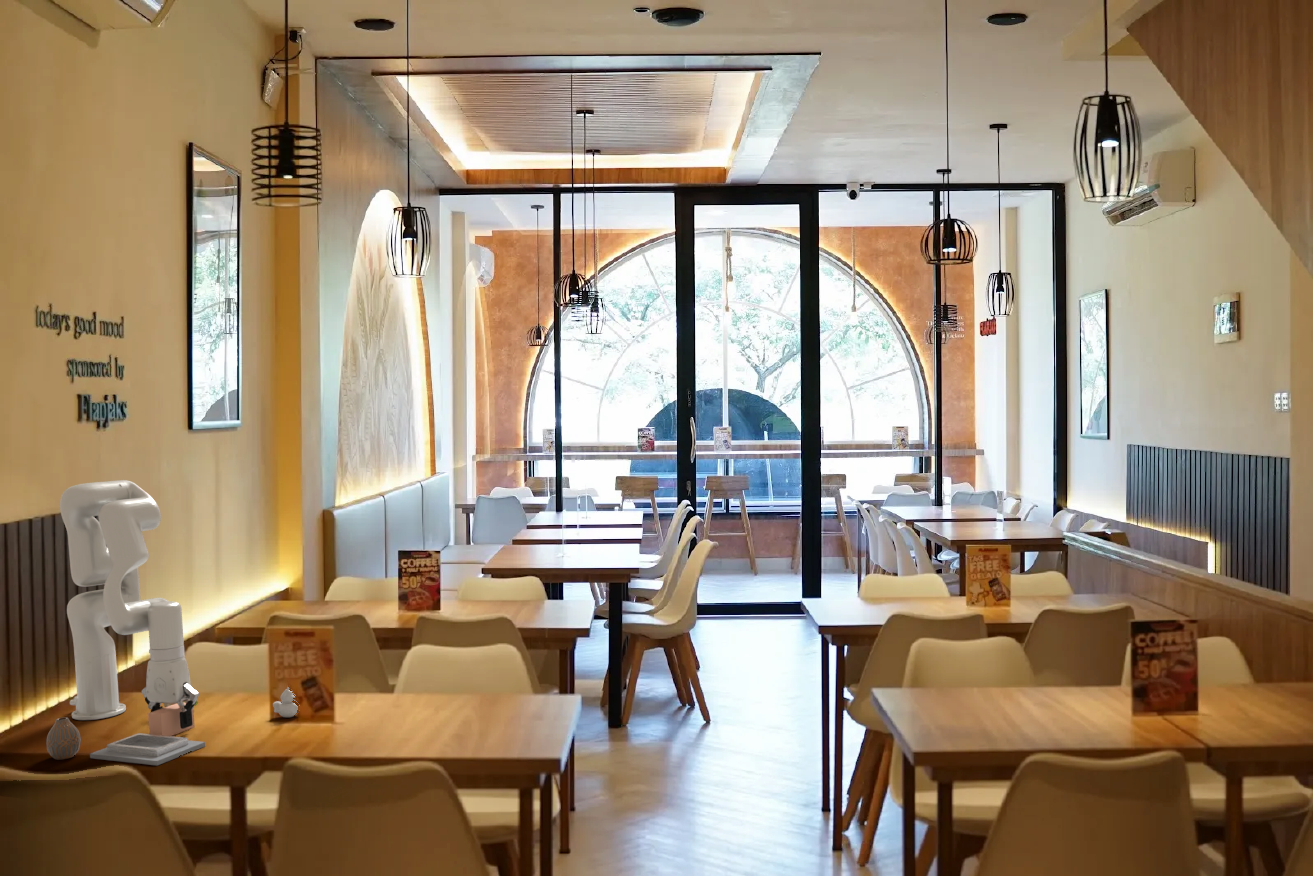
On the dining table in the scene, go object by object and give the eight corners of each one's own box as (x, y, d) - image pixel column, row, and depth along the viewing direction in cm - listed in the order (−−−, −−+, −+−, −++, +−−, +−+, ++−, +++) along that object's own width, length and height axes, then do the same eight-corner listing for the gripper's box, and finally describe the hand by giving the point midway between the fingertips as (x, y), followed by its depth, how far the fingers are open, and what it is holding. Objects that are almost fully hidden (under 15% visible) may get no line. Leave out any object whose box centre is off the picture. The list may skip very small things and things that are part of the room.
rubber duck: (295, 719, 287) (293, 687, 287) (269, 720, 288) (267, 688, 287) (303, 713, 292) (301, 681, 292) (278, 714, 293) (276, 682, 293)
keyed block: (149, 738, 277) (148, 713, 277) (182, 726, 286) (180, 702, 286) (162, 739, 276) (160, 714, 275) (194, 727, 285) (193, 703, 284)
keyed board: (90, 758, 263) (89, 747, 263) (139, 739, 276) (139, 729, 276) (157, 765, 255) (156, 754, 255) (205, 746, 268) (204, 735, 268)
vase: (71, 750, 270) (68, 713, 269) (87, 754, 266) (85, 716, 265) (41, 759, 264) (38, 720, 264) (57, 763, 260) (54, 724, 260)
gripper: (127, 655, 280) (132, 727, 281) (183, 659, 273) (187, 732, 274) (152, 648, 287) (157, 719, 288) (207, 652, 280) (211, 723, 281)
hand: (172, 725), depth 281 cm, fingers open, 8 cm apart
